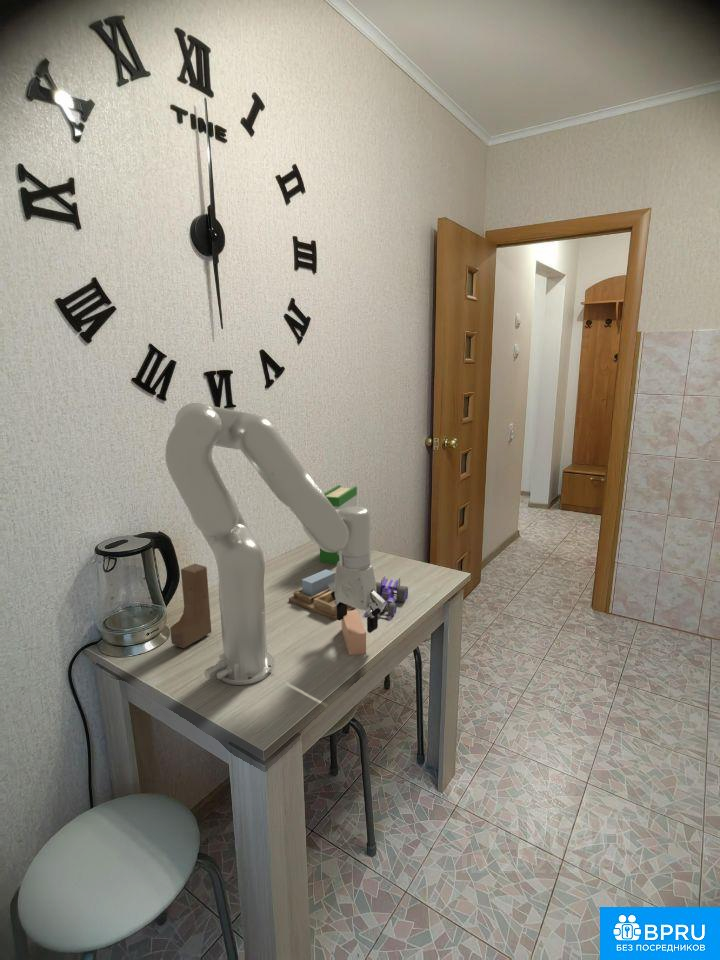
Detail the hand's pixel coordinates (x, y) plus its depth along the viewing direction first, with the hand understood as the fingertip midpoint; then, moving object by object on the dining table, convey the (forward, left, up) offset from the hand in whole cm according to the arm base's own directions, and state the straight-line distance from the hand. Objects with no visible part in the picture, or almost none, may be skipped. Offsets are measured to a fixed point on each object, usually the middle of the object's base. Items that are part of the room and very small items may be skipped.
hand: (356, 624), depth 121 cm
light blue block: (+12, +25, -3) cm, 28 cm away
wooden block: (-25, +33, -5) cm, 42 cm away
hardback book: (+40, +42, -5) cm, 58 cm away
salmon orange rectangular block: (-1, +1, -5) cm, 5 cm away
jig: (+12, +20, -4) cm, 24 cm away
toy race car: (+19, +5, -5) cm, 20 cm away
